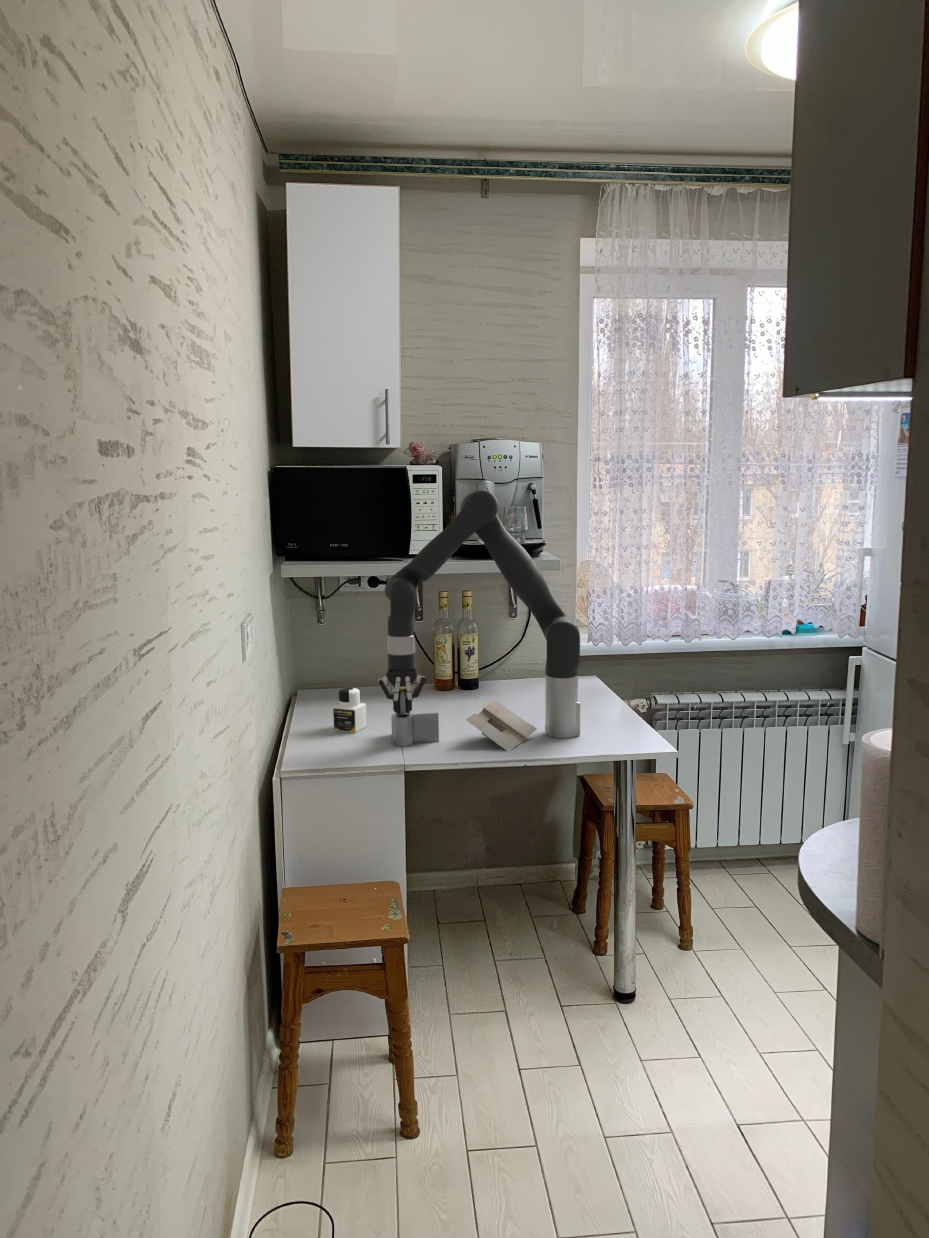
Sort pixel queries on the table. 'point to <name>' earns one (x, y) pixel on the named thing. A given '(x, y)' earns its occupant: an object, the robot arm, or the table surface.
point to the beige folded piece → (501, 725)
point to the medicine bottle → (349, 711)
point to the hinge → (414, 729)
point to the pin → (402, 701)
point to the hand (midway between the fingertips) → (402, 712)
